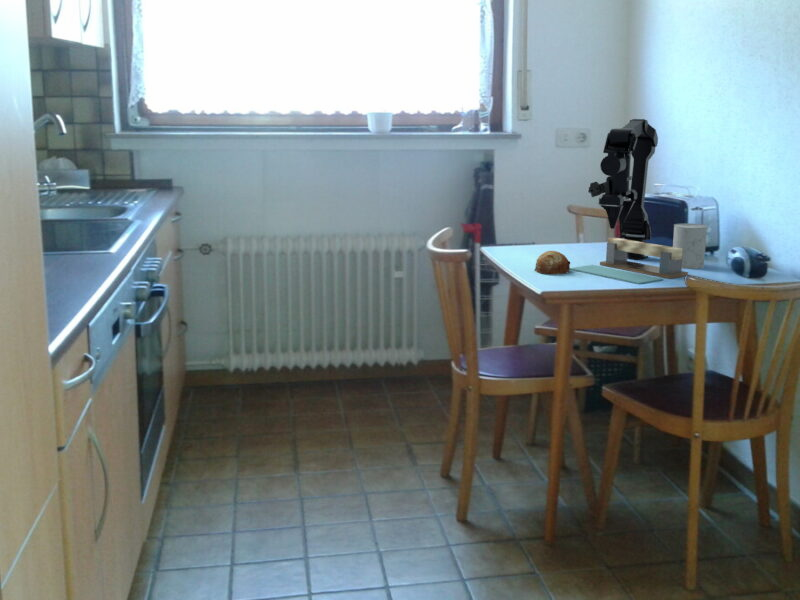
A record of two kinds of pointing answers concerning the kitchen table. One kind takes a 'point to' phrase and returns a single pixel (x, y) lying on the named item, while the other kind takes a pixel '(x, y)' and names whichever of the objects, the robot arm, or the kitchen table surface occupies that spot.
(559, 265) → the bread roll
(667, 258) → the bracketed wooden plank
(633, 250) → the rail
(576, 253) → the kitchen table surface
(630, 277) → the mat
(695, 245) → the grey stone cylinder
